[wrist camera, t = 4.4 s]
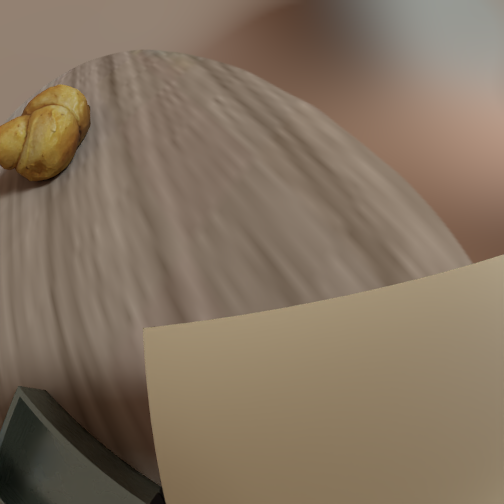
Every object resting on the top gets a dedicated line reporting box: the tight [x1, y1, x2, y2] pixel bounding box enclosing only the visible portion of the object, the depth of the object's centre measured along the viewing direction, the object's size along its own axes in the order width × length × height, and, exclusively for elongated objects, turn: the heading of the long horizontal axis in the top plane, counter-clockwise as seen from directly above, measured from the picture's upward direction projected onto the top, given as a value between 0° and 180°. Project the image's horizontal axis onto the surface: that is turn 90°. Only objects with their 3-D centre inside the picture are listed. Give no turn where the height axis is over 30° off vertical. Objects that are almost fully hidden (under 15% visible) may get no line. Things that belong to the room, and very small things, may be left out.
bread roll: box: [0, 85, 90, 181], centre depth 24 cm, size 13×10×8 cm
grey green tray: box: [0, 386, 161, 504], centre depth 11 cm, size 11×11×3 cm
